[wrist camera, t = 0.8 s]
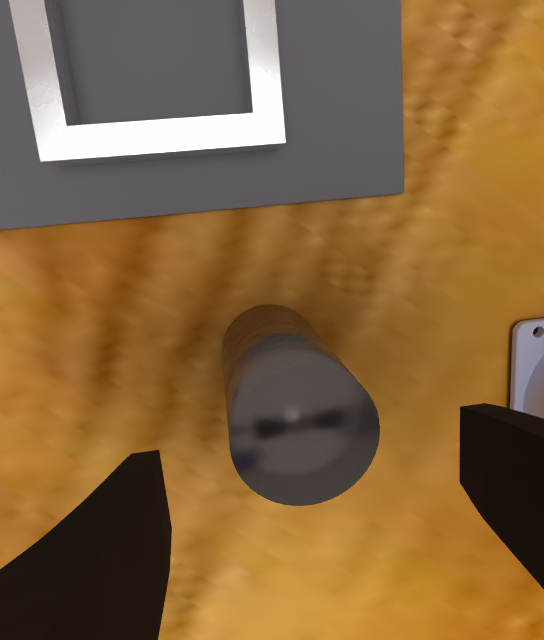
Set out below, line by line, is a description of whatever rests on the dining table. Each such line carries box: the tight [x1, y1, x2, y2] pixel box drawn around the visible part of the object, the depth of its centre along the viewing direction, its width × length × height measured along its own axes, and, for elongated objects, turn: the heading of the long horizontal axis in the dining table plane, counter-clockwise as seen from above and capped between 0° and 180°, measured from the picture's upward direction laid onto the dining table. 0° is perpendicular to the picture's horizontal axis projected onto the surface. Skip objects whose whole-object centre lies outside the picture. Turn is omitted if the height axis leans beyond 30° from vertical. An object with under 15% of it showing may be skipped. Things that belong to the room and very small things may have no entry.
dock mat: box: [0, 0, 404, 230], centre depth 17 cm, size 18×12×1 cm, turn 95°
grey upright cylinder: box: [222, 304, 380, 506], centre depth 16 cm, size 4×4×8 cm
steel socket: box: [9, 0, 286, 167], centre depth 15 cm, size 8×8×2 cm
